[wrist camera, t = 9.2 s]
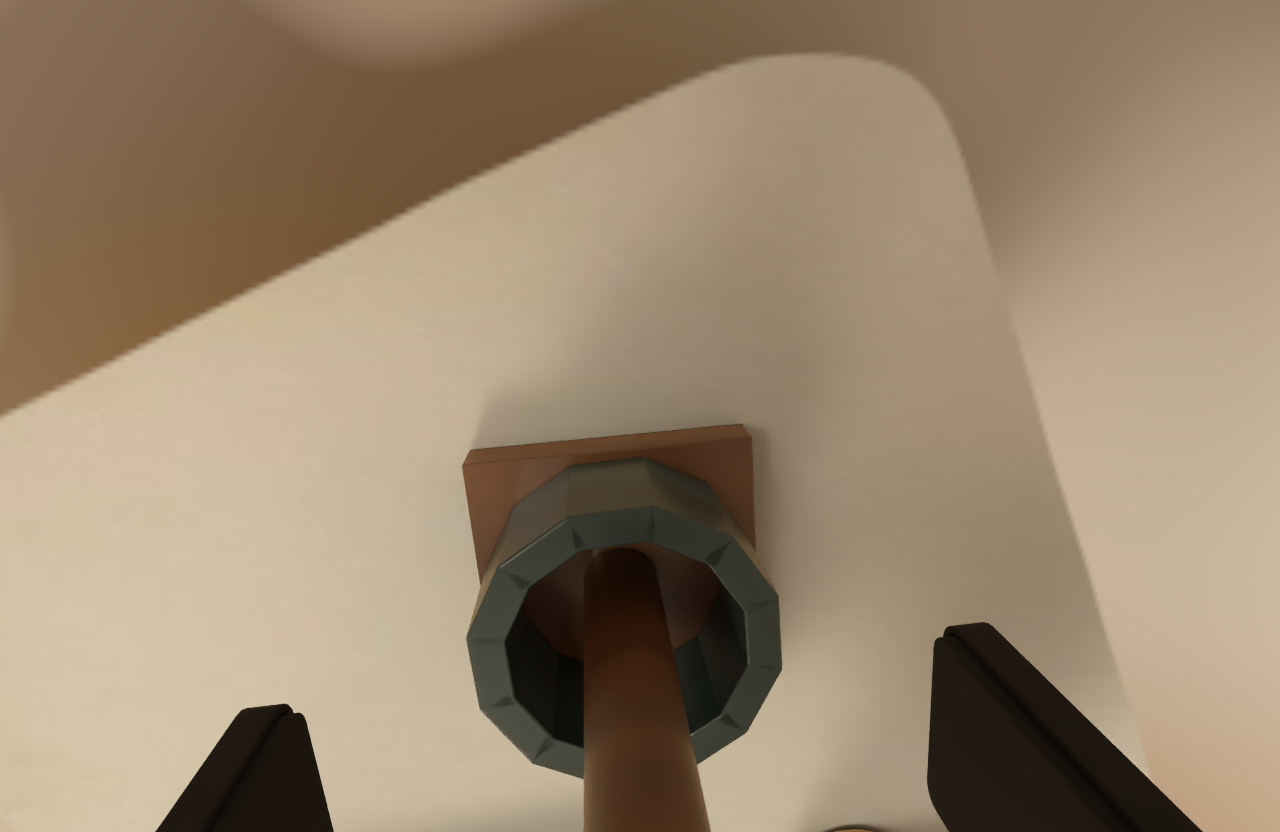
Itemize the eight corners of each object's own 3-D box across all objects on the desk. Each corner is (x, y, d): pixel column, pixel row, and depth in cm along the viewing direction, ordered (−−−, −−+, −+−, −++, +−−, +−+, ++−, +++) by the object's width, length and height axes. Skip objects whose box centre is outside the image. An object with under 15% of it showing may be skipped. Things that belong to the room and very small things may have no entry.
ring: (470, 476, 21) (445, 532, 17) (739, 443, 21) (774, 491, 18) (511, 707, 23) (496, 802, 20) (754, 674, 24) (787, 760, 20)
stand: (469, 449, 22) (336, 708, 10) (741, 423, 23) (916, 641, 11) (504, 685, 25) (430, 1116, 13) (750, 657, 25) (900, 1046, 13)
